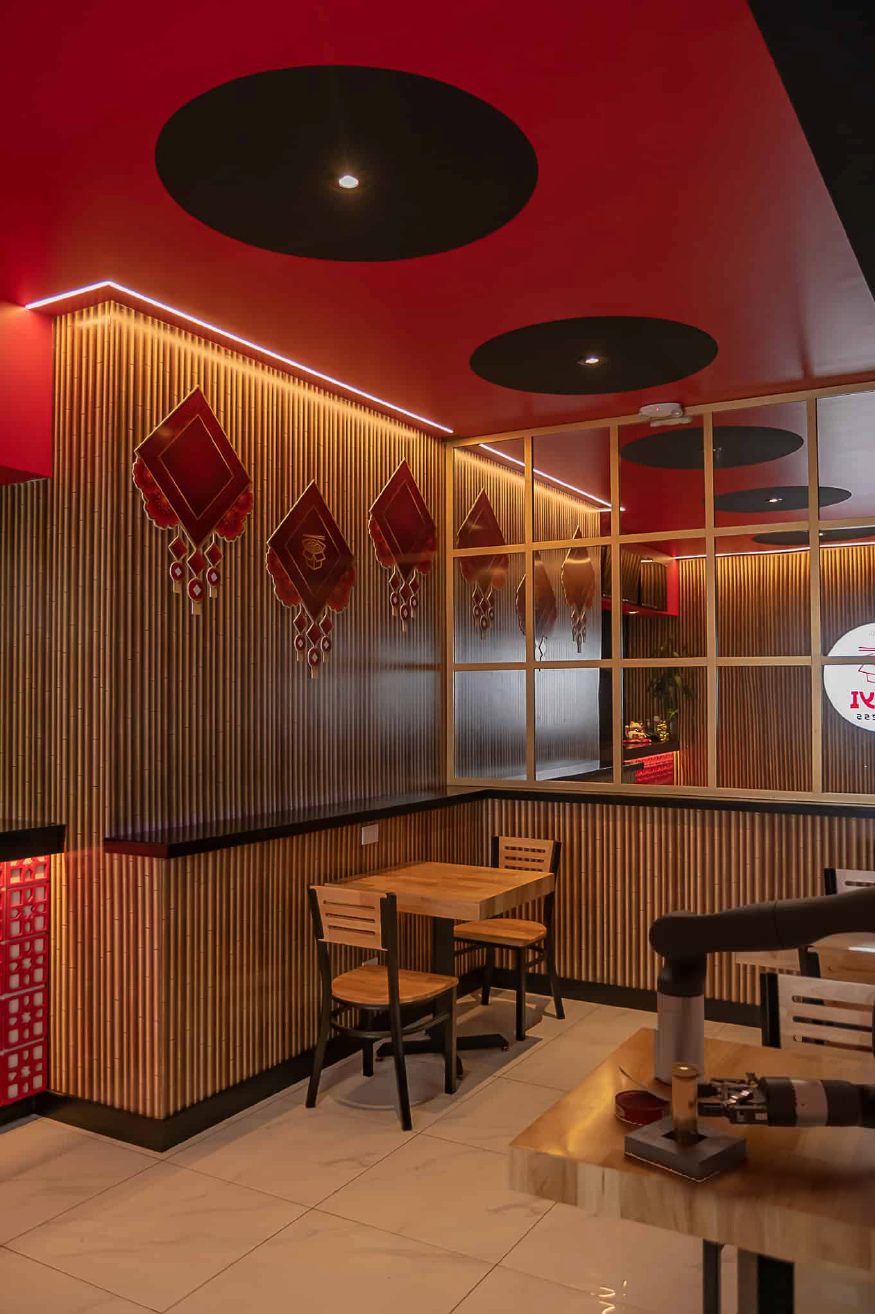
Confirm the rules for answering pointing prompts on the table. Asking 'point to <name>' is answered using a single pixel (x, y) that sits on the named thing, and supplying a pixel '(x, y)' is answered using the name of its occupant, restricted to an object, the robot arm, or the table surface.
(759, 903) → the robot arm
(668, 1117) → the jig
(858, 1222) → the table surface
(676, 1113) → the bushing
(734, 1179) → the table surface
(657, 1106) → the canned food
